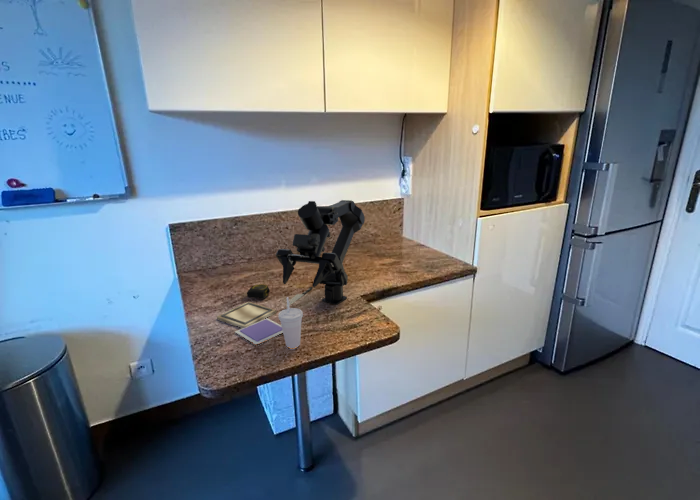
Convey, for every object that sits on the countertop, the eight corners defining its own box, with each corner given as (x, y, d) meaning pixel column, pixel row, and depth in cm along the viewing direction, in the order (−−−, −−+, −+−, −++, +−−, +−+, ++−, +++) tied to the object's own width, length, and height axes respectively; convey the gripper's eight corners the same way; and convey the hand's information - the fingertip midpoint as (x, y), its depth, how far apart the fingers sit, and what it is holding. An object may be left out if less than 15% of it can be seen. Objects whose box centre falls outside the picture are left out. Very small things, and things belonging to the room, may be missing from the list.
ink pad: (267, 319, 114) (266, 317, 113) (288, 331, 106) (288, 328, 106) (235, 333, 106) (234, 330, 106) (256, 346, 99) (255, 343, 98)
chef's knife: (277, 309, 122) (284, 310, 121) (276, 306, 122) (284, 307, 121) (306, 288, 139) (313, 289, 137) (306, 285, 138) (313, 286, 137)
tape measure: (246, 299, 130) (245, 290, 128) (256, 292, 136) (255, 283, 135) (263, 301, 128) (262, 291, 127) (273, 293, 134) (272, 284, 133)
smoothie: (291, 337, 103) (287, 291, 99) (310, 343, 99) (306, 295, 96) (276, 348, 97) (271, 300, 93) (295, 354, 94) (290, 304, 90)
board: (249, 304, 125) (248, 300, 125) (276, 312, 118) (276, 309, 118) (217, 319, 115) (216, 315, 115) (245, 329, 108) (244, 325, 108)
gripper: (277, 221, 106) (257, 266, 98) (337, 224, 100) (320, 272, 92) (292, 244, 115) (273, 287, 107) (347, 248, 109) (332, 294, 100)
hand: (298, 285), depth 101 cm, fingers open, 9 cm apart
